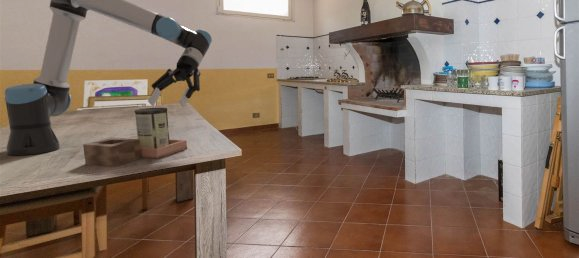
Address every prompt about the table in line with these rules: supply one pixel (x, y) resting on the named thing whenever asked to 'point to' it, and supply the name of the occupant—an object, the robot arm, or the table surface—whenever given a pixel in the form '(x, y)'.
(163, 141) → the coffee can
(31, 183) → the table surface
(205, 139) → the table surface
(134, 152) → the brown square planter
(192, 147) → the table surface
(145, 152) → the dish
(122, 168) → the table surface
